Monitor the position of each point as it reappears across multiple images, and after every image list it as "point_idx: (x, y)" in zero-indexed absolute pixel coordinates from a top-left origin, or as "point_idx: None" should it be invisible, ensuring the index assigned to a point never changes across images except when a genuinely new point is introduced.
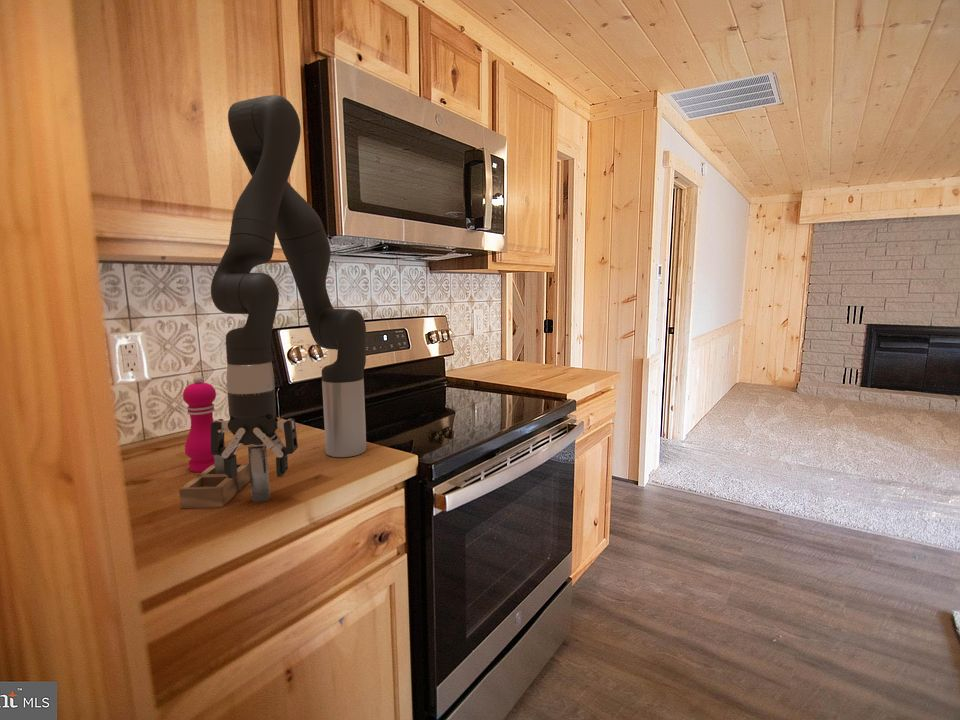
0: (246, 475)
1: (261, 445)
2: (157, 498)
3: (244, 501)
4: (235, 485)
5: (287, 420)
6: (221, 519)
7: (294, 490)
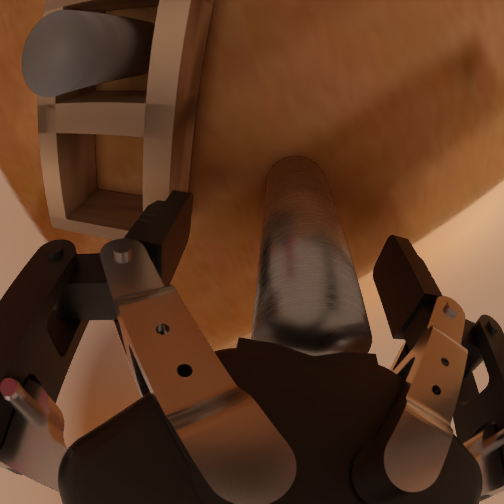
0: (200, 19)
1: (340, 344)
2: (8, 129)
3: (242, 187)
4: (185, 125)
5: (490, 496)
6: (212, 279)
7: (401, 147)
